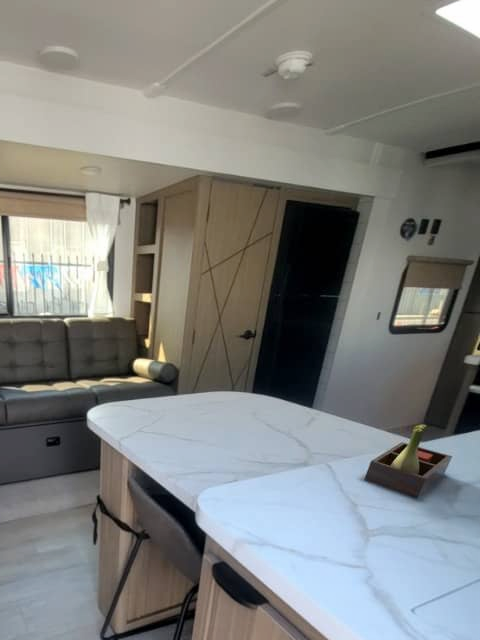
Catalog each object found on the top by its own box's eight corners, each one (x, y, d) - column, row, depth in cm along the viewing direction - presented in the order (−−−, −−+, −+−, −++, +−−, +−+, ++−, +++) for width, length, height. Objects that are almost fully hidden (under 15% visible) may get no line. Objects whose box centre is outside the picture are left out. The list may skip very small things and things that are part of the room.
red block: (405, 464, 93) (411, 448, 91) (425, 471, 90) (433, 454, 88) (398, 469, 90) (405, 452, 89) (420, 475, 87) (427, 459, 86)
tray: (394, 459, 96) (401, 441, 94) (444, 474, 90) (452, 456, 88) (363, 480, 86) (370, 460, 84) (416, 499, 79) (425, 478, 77)
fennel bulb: (399, 473, 88) (420, 421, 82) (421, 484, 83) (445, 429, 78) (379, 476, 86) (399, 423, 81) (400, 487, 82) (423, 431, 77)
